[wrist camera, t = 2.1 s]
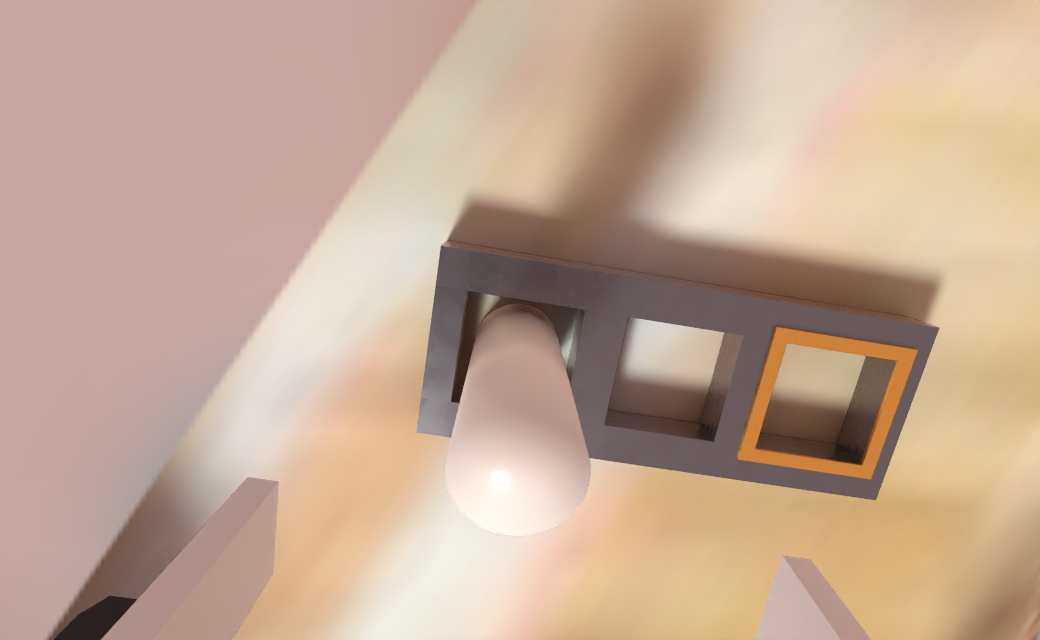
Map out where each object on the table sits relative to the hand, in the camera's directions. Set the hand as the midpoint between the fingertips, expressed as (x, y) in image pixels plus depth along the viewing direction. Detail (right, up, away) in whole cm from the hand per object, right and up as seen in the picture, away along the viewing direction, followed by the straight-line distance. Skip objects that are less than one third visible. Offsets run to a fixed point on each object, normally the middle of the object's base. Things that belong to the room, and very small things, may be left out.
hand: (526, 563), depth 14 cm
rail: (+8, +3, +20) cm, 22 cm away
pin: (0, +5, +19) cm, 20 cm away
